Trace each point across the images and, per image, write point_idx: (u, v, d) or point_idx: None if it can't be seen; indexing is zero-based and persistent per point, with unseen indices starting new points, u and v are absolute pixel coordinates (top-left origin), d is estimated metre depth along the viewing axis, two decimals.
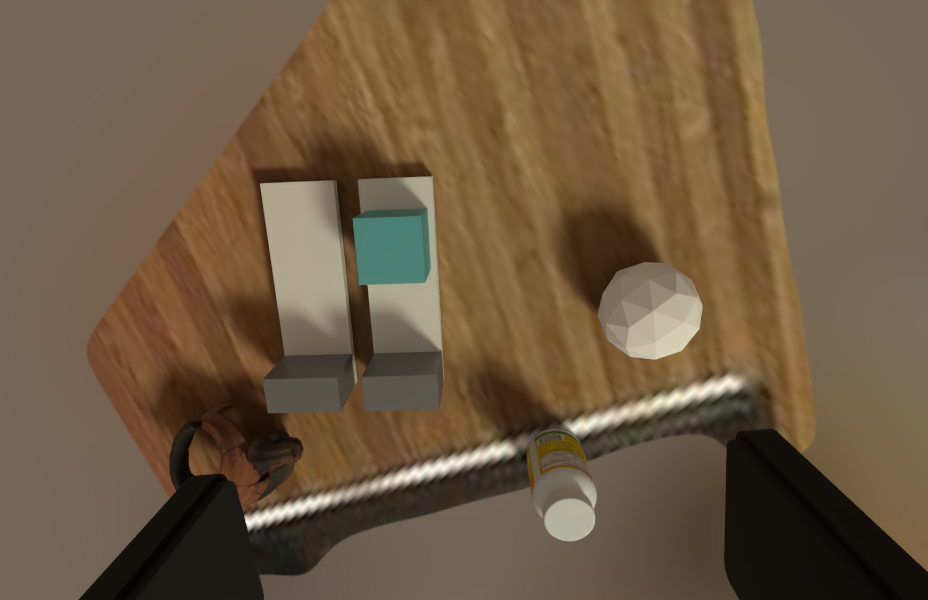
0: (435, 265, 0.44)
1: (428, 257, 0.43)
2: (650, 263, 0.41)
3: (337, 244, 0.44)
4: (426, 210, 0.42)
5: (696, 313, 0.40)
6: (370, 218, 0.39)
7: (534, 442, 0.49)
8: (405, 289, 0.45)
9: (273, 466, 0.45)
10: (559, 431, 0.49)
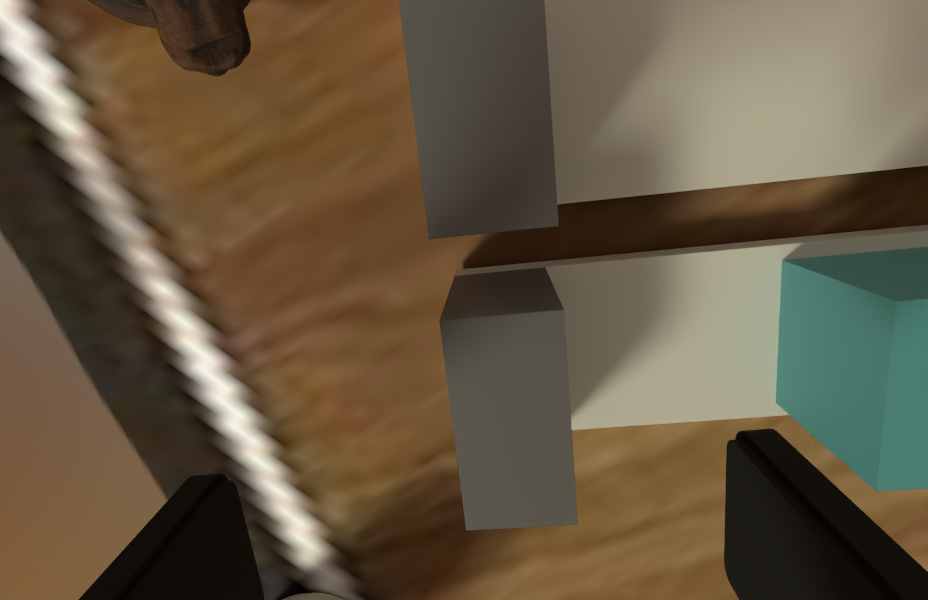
0: (782, 412, 0.18)
1: None
2: None
3: (864, 165, 0.16)
4: None
5: None
6: None
7: None
8: (723, 343, 0.18)
9: None
10: None
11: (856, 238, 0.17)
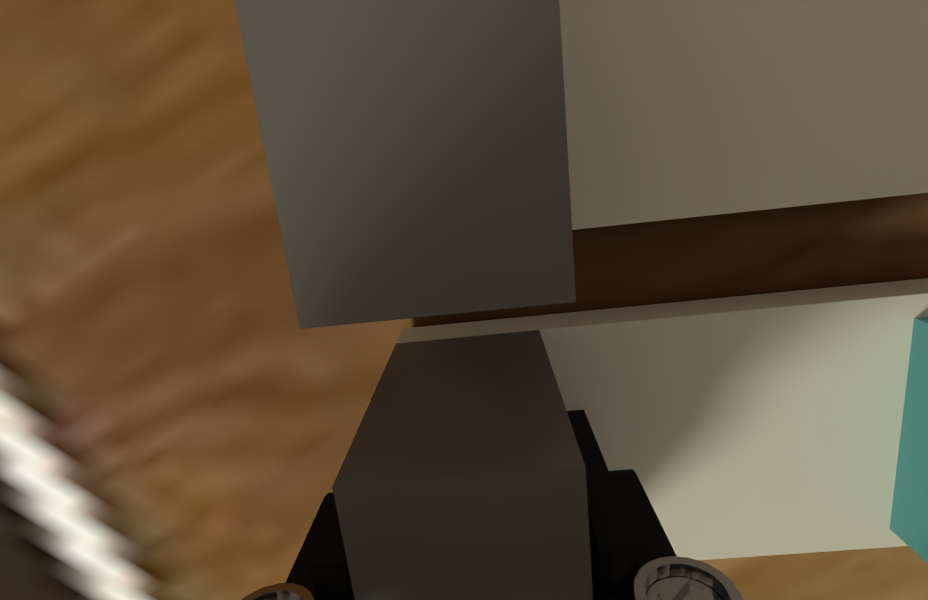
0: (898, 542, 0.12)
1: None
2: None
3: None
4: None
5: None
6: None
7: None
8: (814, 444, 0.11)
9: None
10: None
11: None
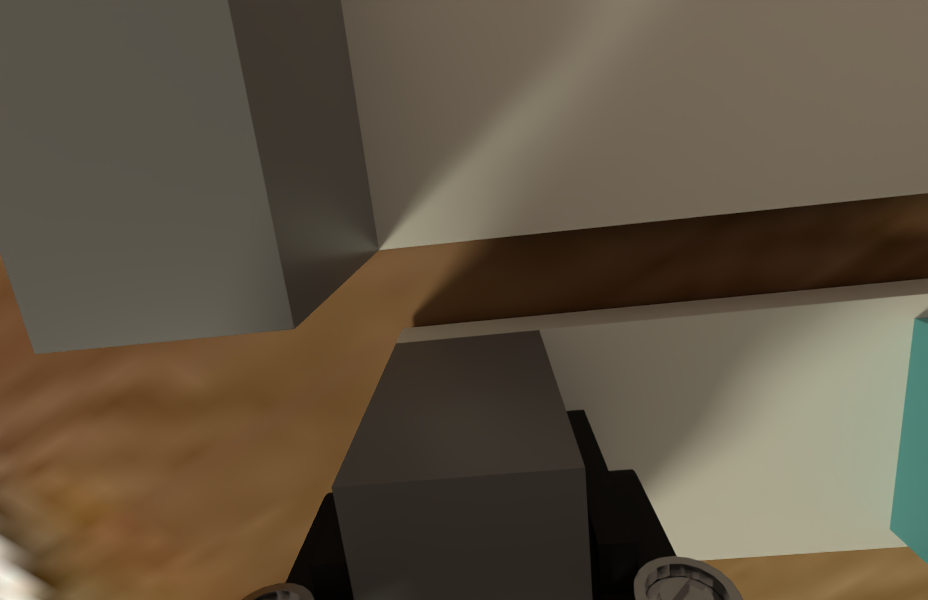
0: (898, 543, 0.12)
1: None
2: None
3: (887, 186, 0.10)
4: None
5: None
6: None
7: None
8: (814, 444, 0.11)
9: None
10: None
11: None
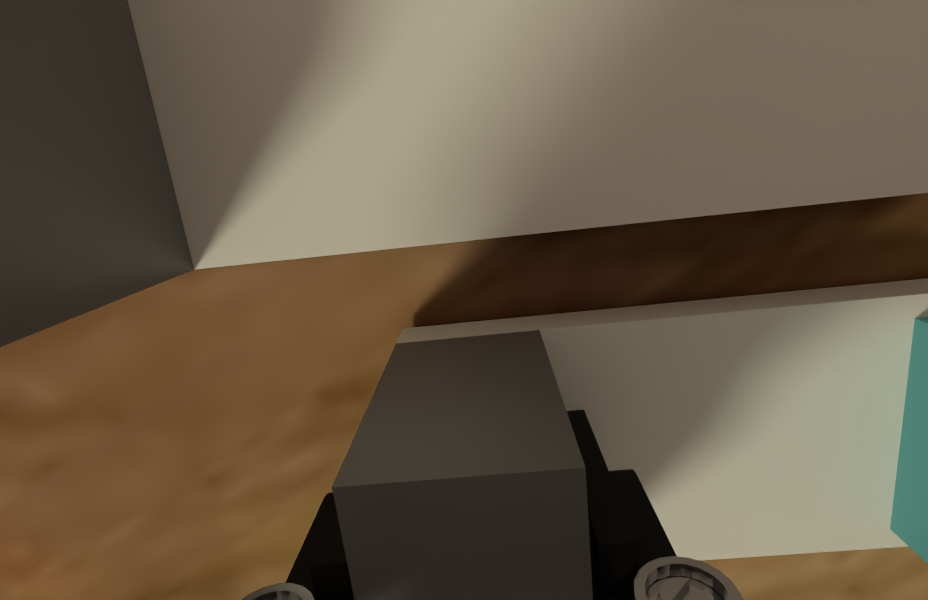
0: (899, 542, 0.12)
1: None
2: None
3: (681, 207, 0.10)
4: None
5: None
6: None
7: None
8: (814, 444, 0.11)
9: None
10: None
11: None
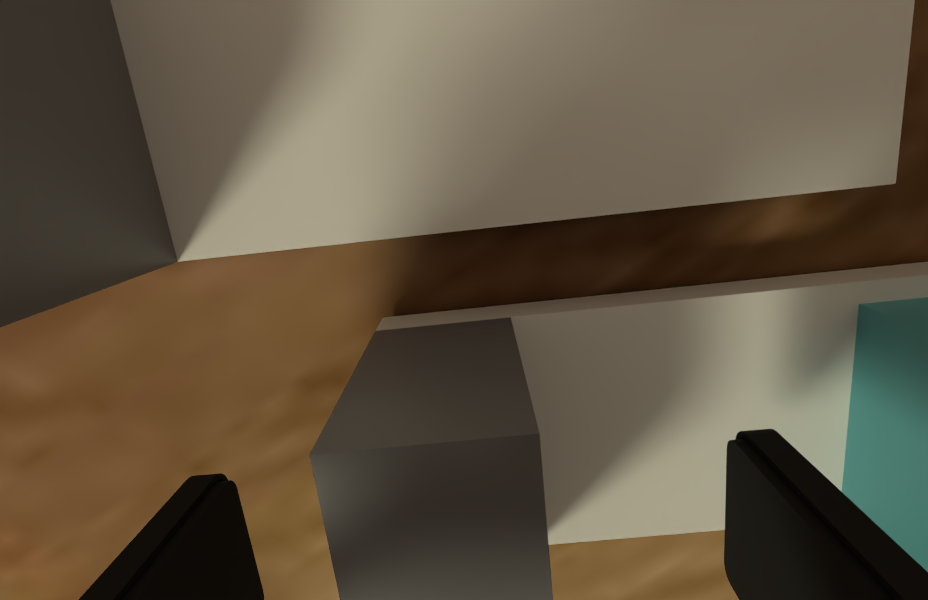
0: None
1: None
2: None
3: (637, 201, 0.11)
4: None
5: None
6: None
7: None
8: (769, 423, 0.12)
9: None
10: None
11: None
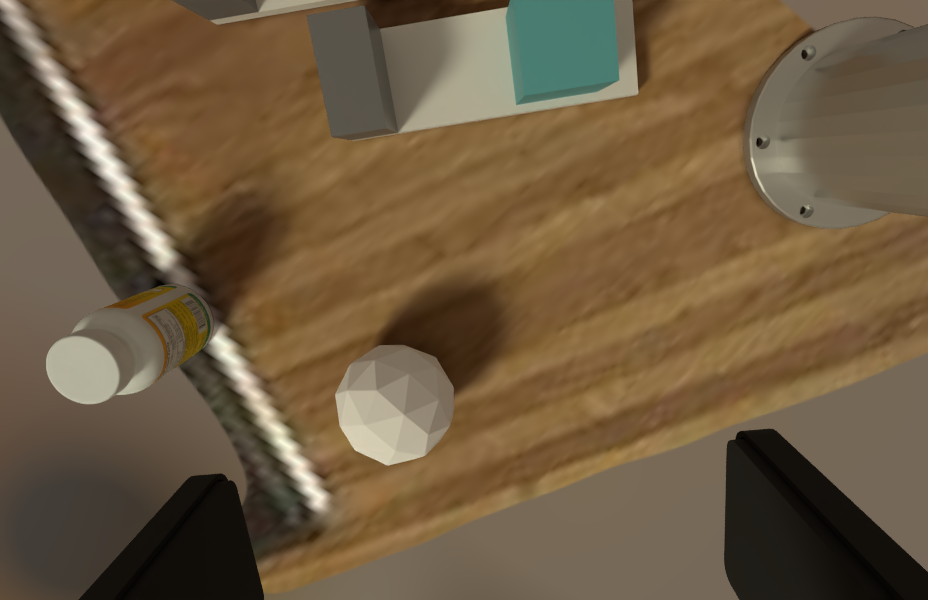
0: (520, 111, 0.33)
1: (539, 99, 0.31)
2: (453, 394, 0.35)
3: None
4: (599, 90, 0.32)
5: (405, 459, 0.33)
6: (612, 3, 0.27)
7: (186, 294, 0.36)
8: (482, 69, 0.32)
9: None
10: (209, 322, 0.37)
11: None
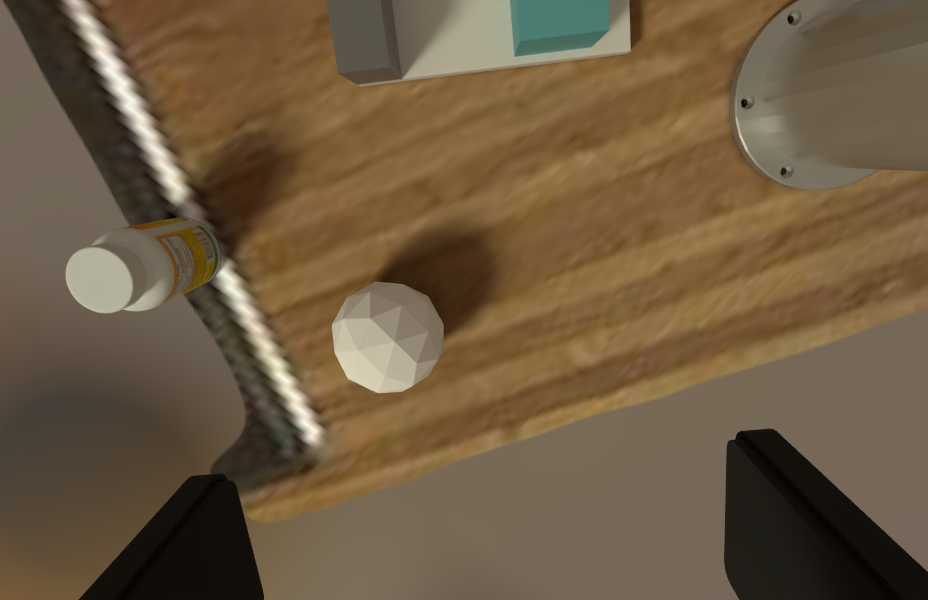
0: (518, 62, 0.35)
1: (535, 50, 0.33)
2: (442, 330, 0.37)
3: None
4: (593, 44, 0.33)
5: (395, 387, 0.36)
6: None
7: (196, 226, 0.38)
8: (483, 21, 0.34)
9: None
10: (217, 255, 0.39)
11: None
